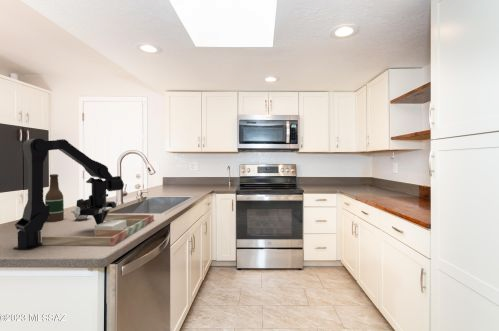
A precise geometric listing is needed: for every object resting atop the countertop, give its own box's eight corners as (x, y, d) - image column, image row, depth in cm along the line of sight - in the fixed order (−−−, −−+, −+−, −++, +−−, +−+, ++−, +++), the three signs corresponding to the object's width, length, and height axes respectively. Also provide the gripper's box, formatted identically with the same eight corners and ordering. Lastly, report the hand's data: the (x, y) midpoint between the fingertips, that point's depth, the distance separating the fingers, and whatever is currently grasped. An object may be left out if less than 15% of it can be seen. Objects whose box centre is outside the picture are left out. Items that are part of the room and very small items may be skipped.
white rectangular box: (112, 235, 114) (112, 226, 114) (94, 234, 115) (94, 225, 115) (126, 228, 125) (126, 220, 125) (110, 228, 126) (110, 219, 125)
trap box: (113, 245, 99) (112, 237, 99) (41, 244, 100) (41, 237, 100) (153, 220, 139) (153, 214, 139) (102, 219, 140) (102, 214, 140)
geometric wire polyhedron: (82, 227, 139) (79, 214, 133) (69, 221, 140) (65, 208, 134) (96, 216, 146) (93, 203, 140) (84, 210, 147) (80, 197, 141)
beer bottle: (47, 219, 140) (46, 174, 139) (65, 218, 144) (64, 173, 143) (43, 222, 133) (42, 175, 132) (62, 221, 136) (61, 174, 136)
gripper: (93, 189, 129) (94, 221, 129) (66, 195, 110) (67, 232, 111) (116, 189, 129) (116, 222, 129) (93, 195, 110) (93, 233, 110)
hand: (99, 227), depth 120 cm, fingers closed
